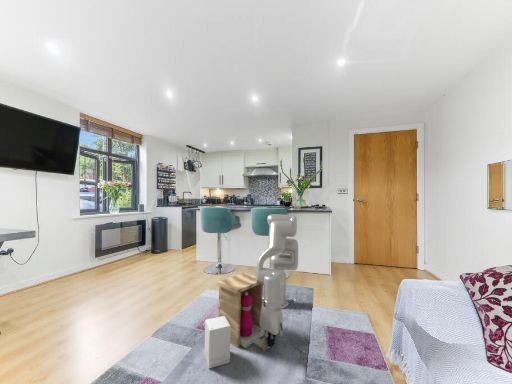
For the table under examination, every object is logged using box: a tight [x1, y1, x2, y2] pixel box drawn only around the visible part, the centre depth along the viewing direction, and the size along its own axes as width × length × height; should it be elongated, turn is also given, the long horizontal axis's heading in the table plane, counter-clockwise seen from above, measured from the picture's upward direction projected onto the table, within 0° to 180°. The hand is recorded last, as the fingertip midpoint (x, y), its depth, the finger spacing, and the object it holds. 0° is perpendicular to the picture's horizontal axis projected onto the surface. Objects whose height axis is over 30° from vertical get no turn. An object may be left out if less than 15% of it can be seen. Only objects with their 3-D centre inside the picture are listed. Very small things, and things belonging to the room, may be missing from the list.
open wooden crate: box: [217, 272, 264, 349], centre depth 112 cm, size 19×14×26 cm
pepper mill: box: [240, 292, 253, 337], centre depth 110 cm, size 7×7×20 cm
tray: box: [240, 324, 270, 351], centre depth 107 cm, size 13×20×5 cm, turn 48°
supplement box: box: [204, 316, 231, 369], centre depth 94 cm, size 9×9×15 cm
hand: (271, 345), depth 99 cm, fingers closed
